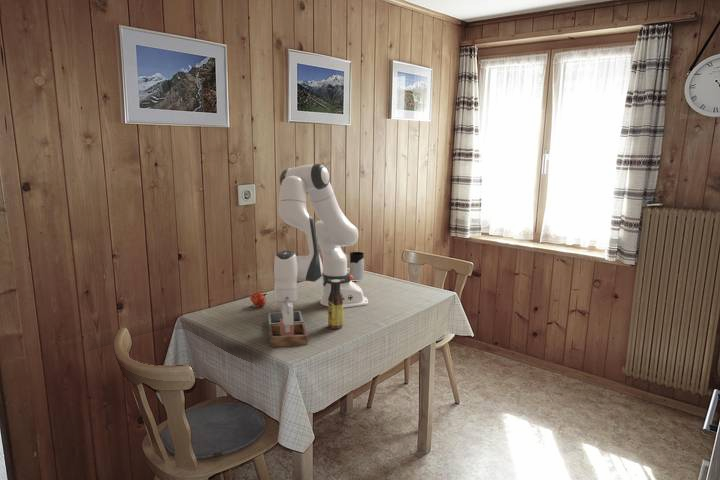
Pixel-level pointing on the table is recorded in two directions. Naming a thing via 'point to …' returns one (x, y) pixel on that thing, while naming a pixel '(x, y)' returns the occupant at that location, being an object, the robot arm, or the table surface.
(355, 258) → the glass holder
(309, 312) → the table surface
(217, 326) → the table surface
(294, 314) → the grey box
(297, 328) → the walnut box
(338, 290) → the sauce bottle
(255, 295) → the pomegranate
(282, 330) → the letter cube
